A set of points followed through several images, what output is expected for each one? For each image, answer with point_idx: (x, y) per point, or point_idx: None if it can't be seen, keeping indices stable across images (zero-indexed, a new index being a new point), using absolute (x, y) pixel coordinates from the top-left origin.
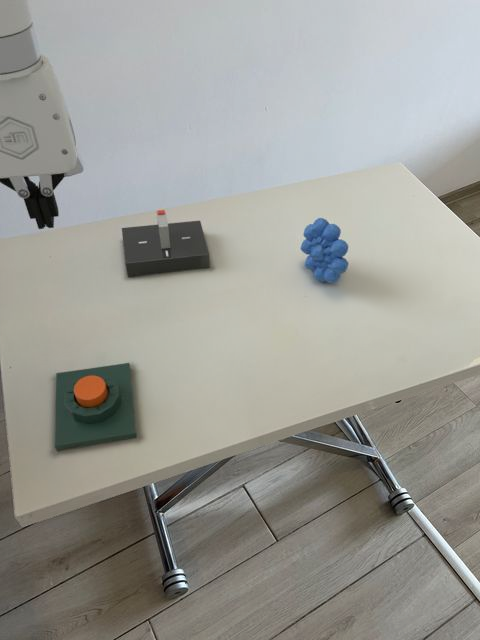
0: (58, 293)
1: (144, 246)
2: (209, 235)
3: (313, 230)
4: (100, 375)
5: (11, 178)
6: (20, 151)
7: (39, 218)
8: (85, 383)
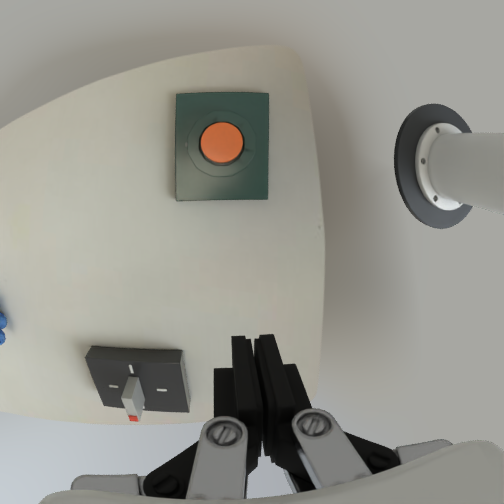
0: None
1: (159, 384)
2: None
3: None
4: (209, 171)
5: (360, 469)
6: None
7: (267, 355)
8: (227, 149)
